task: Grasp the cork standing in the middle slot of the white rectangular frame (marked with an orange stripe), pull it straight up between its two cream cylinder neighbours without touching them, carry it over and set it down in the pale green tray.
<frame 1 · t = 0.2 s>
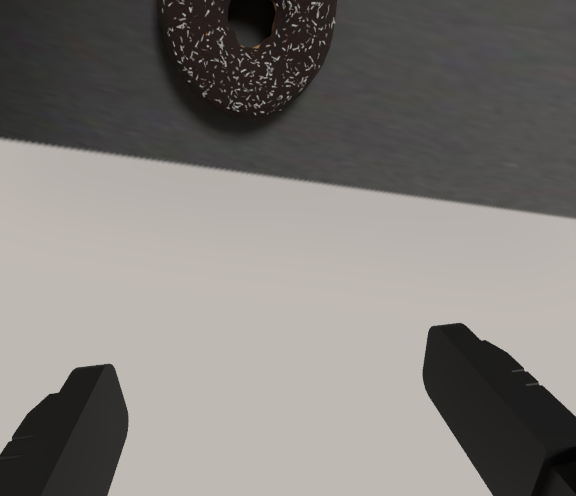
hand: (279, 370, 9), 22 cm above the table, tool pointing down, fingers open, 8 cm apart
donut: (246, 22, 24), on the table
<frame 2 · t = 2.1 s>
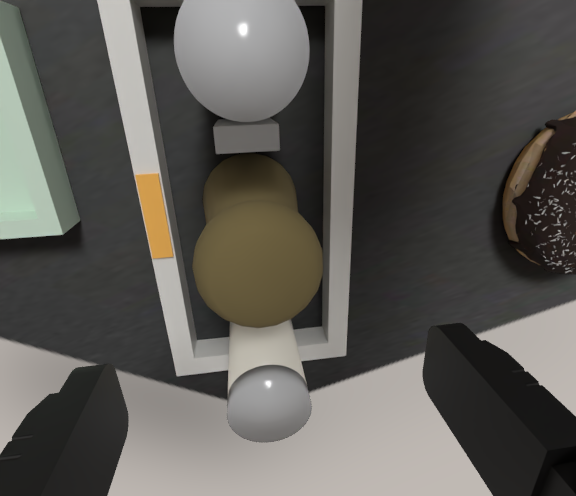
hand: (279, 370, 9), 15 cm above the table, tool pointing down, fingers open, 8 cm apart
donut: (561, 189, 26), on the table
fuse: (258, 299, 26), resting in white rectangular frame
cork: (250, 199, 23), resting in white rectangular frame
white rectangular frame: (250, 200, 23), on the table
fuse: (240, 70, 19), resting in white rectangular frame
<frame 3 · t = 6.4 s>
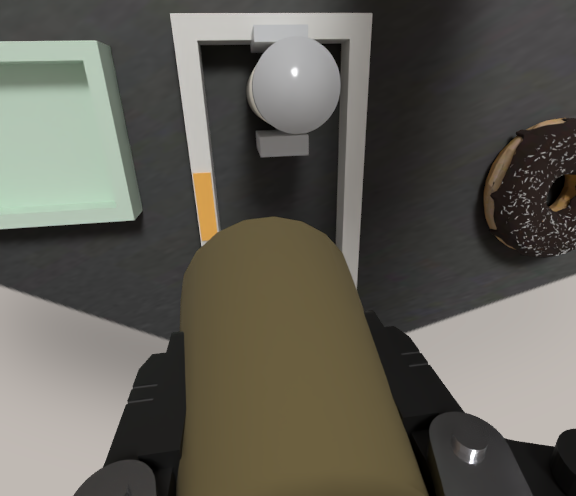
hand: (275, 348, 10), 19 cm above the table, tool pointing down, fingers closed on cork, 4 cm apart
tray: (44, 138, 24), on the table
donut: (533, 187, 31), on the table
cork: (268, 295, 13), point 16 cm above the table, touching gripper
white rectangular frame: (278, 195, 28), on the table
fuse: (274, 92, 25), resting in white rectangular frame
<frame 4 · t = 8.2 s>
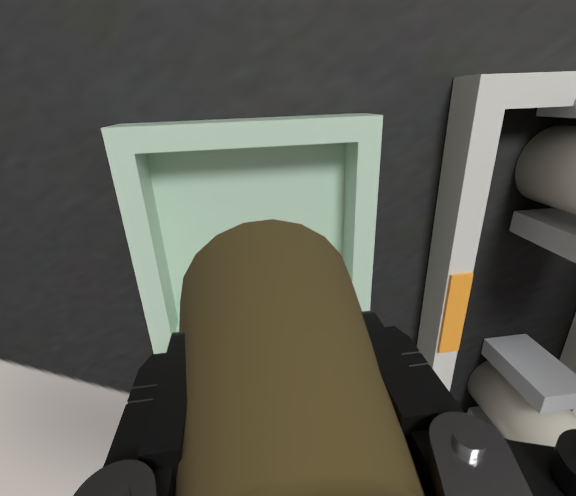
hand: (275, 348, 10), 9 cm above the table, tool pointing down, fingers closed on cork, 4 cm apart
tray: (255, 231, 18), on the table
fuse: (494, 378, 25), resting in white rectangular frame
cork: (268, 297, 13), point 6 cm above the table, touching gripper
white rectangular frame: (518, 286, 22), on the table
when the fingers open (5 cm above the table, at t = 9.3 s): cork drops 1 cm, resting on tray.
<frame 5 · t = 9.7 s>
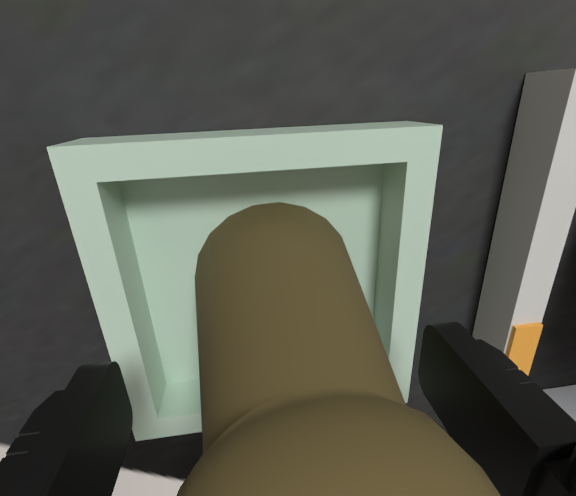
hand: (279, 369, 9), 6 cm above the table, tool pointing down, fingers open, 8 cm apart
tray: (263, 272, 14), on the table
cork: (274, 275, 14), resting on tray
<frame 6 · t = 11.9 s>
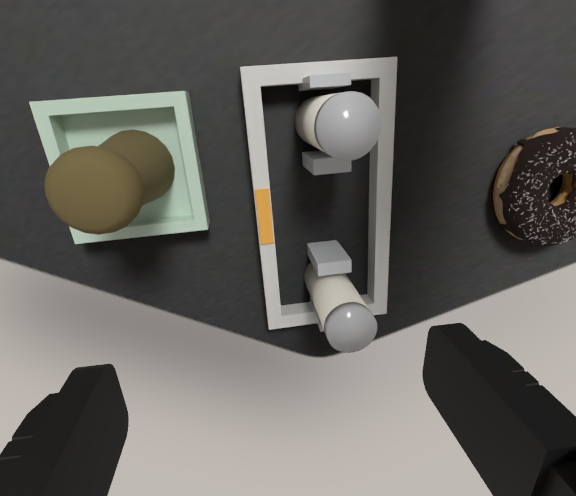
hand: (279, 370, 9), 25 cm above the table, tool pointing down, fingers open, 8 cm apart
tray: (135, 167, 30), on the table
donut: (535, 186, 36), on the table
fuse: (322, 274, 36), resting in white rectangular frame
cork: (138, 166, 30), resting on tray
white rectangular frame: (320, 204, 33), on the table
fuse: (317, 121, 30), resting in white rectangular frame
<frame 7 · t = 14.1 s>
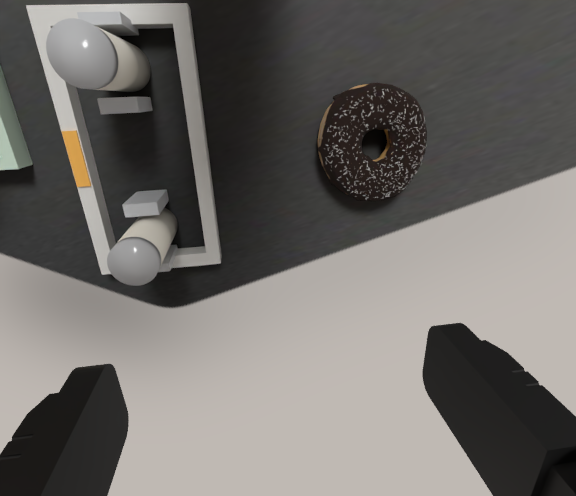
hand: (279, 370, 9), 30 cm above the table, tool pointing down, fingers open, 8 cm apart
donut: (365, 144, 38), on the table
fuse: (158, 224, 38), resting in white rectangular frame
white rectangular frame: (144, 152, 35), on the table
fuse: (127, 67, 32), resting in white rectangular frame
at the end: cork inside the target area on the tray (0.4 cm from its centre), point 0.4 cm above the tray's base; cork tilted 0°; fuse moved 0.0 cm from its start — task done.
